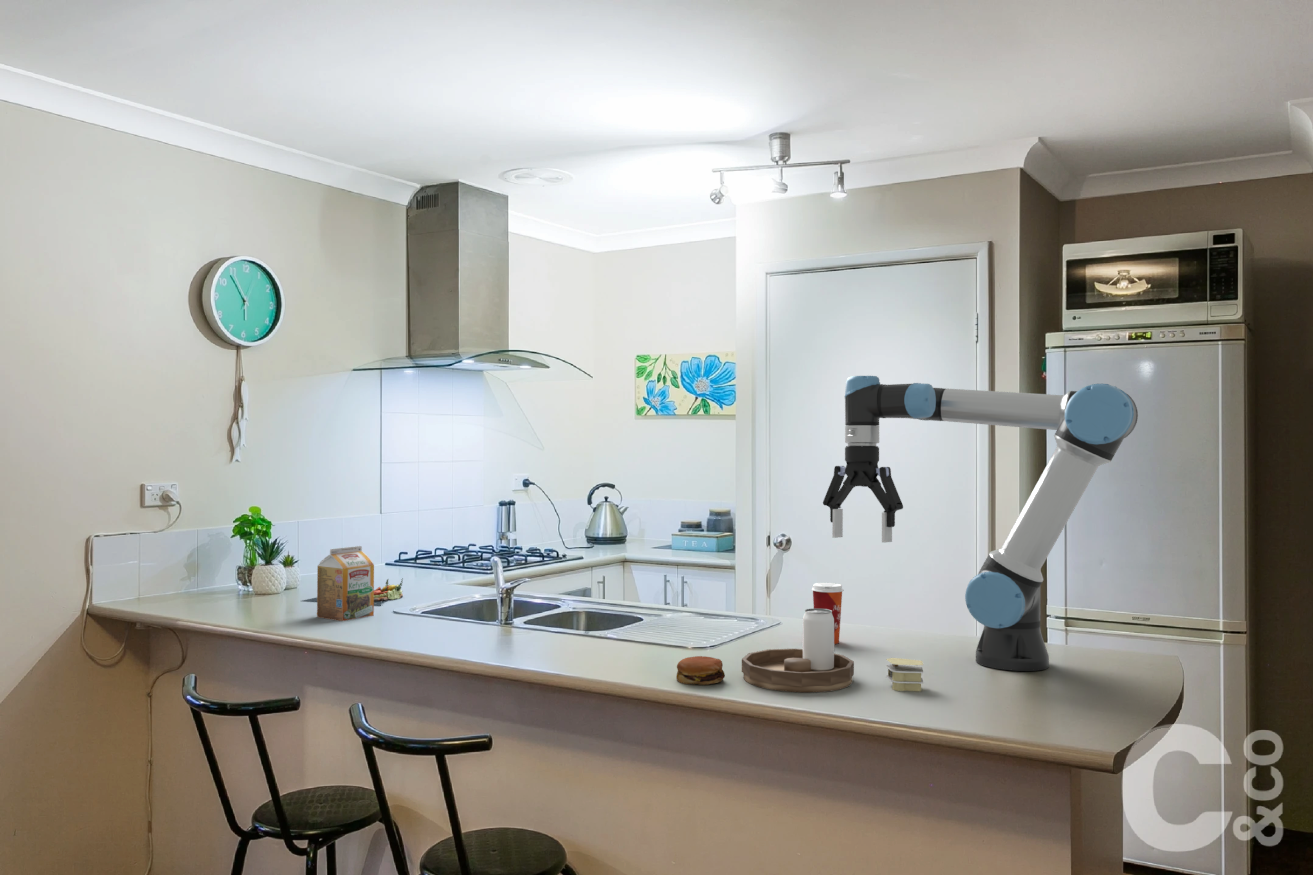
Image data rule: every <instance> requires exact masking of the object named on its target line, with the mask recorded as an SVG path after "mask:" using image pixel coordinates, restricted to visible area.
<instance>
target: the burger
mask: <svg viewBox="0 0 1313 875" xmlns="http://www.w3.org/2000/svg"><path fill="white" fill-rule="evenodd" d="M676 669H677V671H676V680H677V682H678V683H680V684H684V685H695V684H698V685H699V686H705V685H713V684H718V683H721V682H722V681H723V680H724V678H725V677H726V674H725V671H724V670H723V660H721V659H720V658H715V657H712V656H702V655H699V656H698V655H696V656H688V657H685V658H682V659H681V660H680V661H678V663H677V665H676Z"/></svg>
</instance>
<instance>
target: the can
mask: <svg viewBox="0 0 1313 875" xmlns="http://www.w3.org/2000/svg"><path fill="white" fill-rule="evenodd" d="M804 611H805V613H804V614H803V617H802V649H803V658H805V659H809V660H811V671H830V670H832V669H833V668H834V653H835V644H834V617H833V615H832V611H831V610H828V609H818V608H814V607H813V608H806V609H805V610H804Z"/></svg>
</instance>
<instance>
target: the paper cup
mask: <svg viewBox="0 0 1313 875" xmlns="http://www.w3.org/2000/svg"><path fill="white" fill-rule="evenodd" d="M811 591H812V600H813V601H812V602H813V609H814V608H818V609H828V610H831V611H832V615H833V617H834V645H837V644H839V643H840V634H841V633H840V632H841V631H840V630H841V618H842V617H841V615H842V602H843V601H842V600H843V599H842V598H843V592H844V589H843V585H842V584H840V583H836V582H835V583H834V582H815V583H813V585H812V588H811Z"/></svg>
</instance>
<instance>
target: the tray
mask: <svg viewBox="0 0 1313 875" xmlns="http://www.w3.org/2000/svg"><path fill="white" fill-rule="evenodd" d="M741 673H742V674H743V680H744V681H745V682H746V683H748V684H750V685H752V686H755V687H758V688H762V689H767V690H771V691H779V692H789V693H825V692H826V693H827V692H834V691H840V690H842V689H846V688H848V687H850V686H851V685H852V684H853V676H854V675H855V662H854V660H852V659H851V658H848V657H846V656H845V655H844V654H840V653H839V654H838V653H835V652H834V668H833V669H832V670H830V671H811V660H809V659H805V658H803V648H772V649H771V648H770V649H764V650H763V649H762V650H757V651H754V652H749V653H747V654H745V656H744V657H742V658H741Z"/></svg>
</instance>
